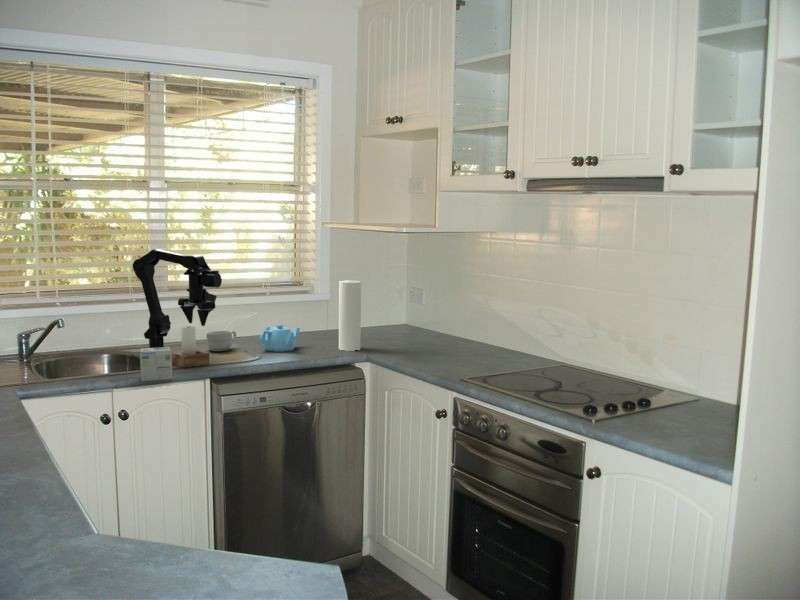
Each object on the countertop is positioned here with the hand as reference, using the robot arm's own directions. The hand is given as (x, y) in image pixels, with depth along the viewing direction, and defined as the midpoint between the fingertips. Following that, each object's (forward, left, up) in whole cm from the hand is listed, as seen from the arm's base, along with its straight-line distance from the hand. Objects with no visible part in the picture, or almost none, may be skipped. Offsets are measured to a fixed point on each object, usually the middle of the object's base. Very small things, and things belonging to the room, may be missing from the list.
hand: (196, 324), depth 310 cm
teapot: (+11, +34, -13) cm, 38 cm away
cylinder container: (+31, +56, -13) cm, 65 cm away
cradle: (+10, -10, -13) cm, 19 cm away
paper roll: (+10, -10, -12) cm, 18 cm away
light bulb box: (+24, -32, -13) cm, 42 cm away
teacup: (-4, +15, -13) cm, 20 cm away
